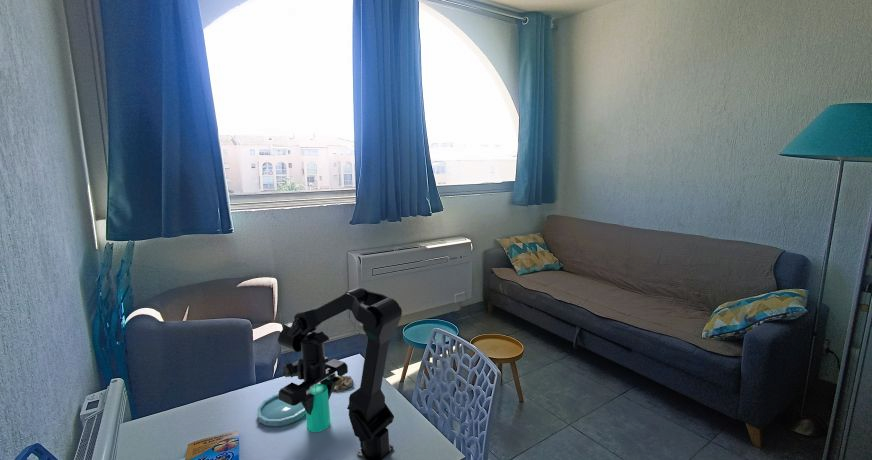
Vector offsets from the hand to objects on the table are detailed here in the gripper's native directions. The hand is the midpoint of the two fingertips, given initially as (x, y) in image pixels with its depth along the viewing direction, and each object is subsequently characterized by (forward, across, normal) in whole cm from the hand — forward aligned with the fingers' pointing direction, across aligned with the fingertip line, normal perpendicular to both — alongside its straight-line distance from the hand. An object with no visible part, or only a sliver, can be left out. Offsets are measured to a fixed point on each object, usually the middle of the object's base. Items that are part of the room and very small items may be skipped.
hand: (317, 409), depth 106 cm
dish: (+4, +1, -13) cm, 14 cm away
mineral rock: (+5, -16, -10) cm, 20 cm away
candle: (+5, 0, 0) cm, 5 cm away
